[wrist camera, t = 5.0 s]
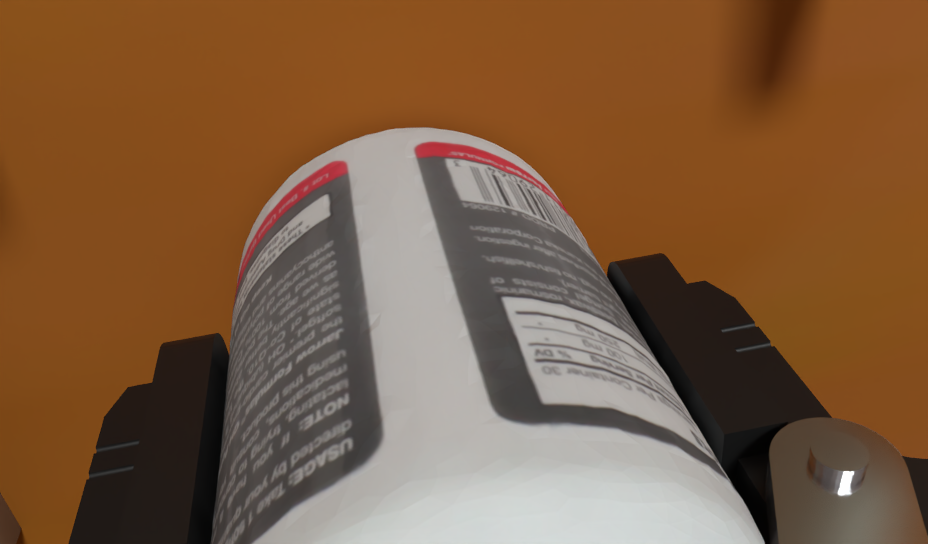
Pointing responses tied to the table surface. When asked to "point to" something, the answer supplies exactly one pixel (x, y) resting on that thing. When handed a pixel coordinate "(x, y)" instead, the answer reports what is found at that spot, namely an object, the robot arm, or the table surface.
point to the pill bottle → (447, 368)
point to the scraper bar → (8, 524)
